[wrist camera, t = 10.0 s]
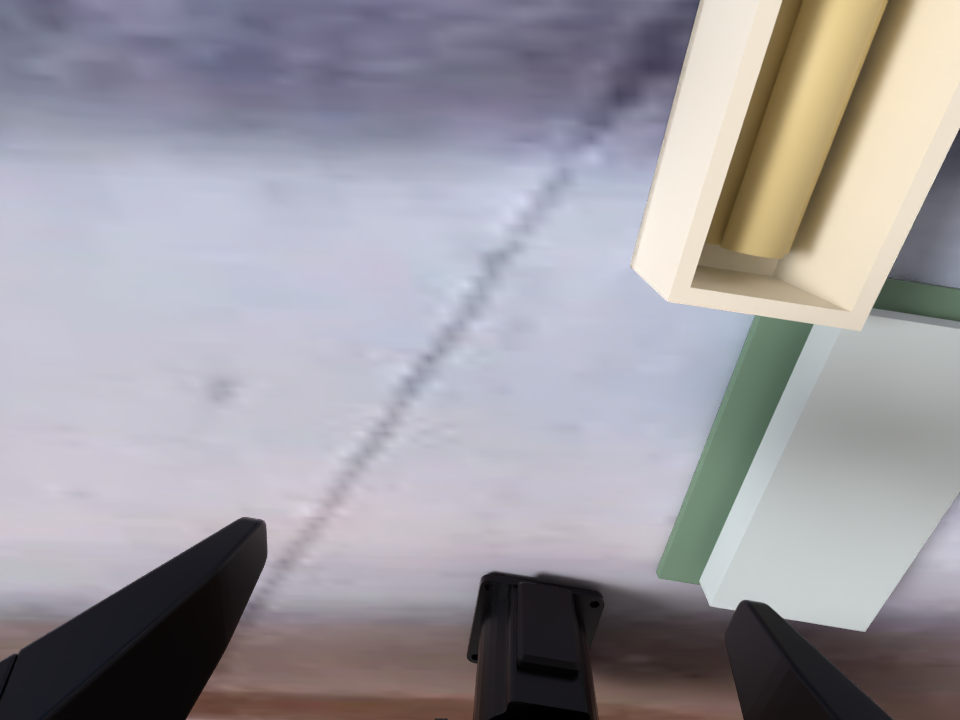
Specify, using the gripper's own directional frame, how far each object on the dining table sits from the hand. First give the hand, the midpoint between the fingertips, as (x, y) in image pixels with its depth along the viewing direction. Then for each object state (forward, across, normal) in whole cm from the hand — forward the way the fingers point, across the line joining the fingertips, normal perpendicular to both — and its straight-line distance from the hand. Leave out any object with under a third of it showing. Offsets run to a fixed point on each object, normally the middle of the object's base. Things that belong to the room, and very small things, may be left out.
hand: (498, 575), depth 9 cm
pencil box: (+12, -7, -11) cm, 18 cm away
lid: (+11, -14, +3) cm, 18 cm away
